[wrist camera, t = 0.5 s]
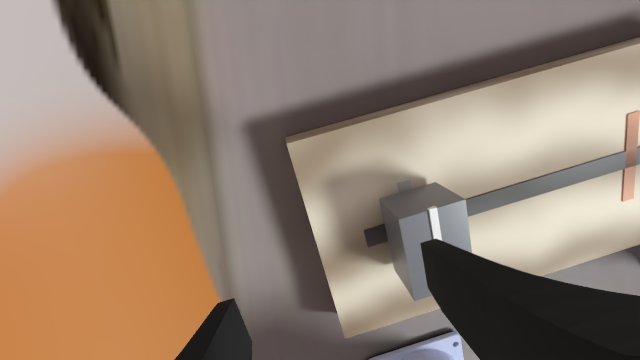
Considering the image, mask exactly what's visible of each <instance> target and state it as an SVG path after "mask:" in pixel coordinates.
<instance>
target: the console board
mask: <svg viewBox="0 0 640 360" xmlns="http://www.w3.org/2000/svg"><path fill="white" fill-rule="evenodd" d="M286 144H287V147H288V151H289V154H290V157H291V161H292V164H293V167H294V171H295V174H296V177H297V181H298V184H299V187H300V191H301V194H302V197H303V201H304V204H305V207H306V211H307V214H308V217H309V221H310V224H311V227H312V231H313V234H314V237H315V241H316V244H317V247H318V251H319V254H320V257H321V260H322V264H323V267H324V270H325V274H326V277H327V280H328V284H329V287H330V290H331V294H332V297H333V300H334V304H335V307H336V310H337V314H338V317H339V320H340V324H341V327H342V330H343V334H344V337H345V339H347V338H350V337H353V336H356V335H359V334H362V333H365V332H369V331H372V330H375V329H378V328H381V327H384V326H387V325H390V324H393V323H397V322H400V321H403V320H406V319H409V318H412V317H415V316H418V315H422V314H425V313H428V312H431V311H434V310H437V309H440V307H439V306H438V304H437V302H436V301H435V299H434V297H433V296H430V297H426V298H423V299H420V300H417V301H414V299H413V298H412V296H411V295H410V293H409V292H408V290H407V289H406V287H405V285H404V284H403V282H402V281H401V279H400V278H399V276H398V275H397V273H396V272H395V270H394V266H393V261H392V257H391V252H390V247H389V243H388V238H387V233H386V229H385V224H384V219H383V215H382V210H381V205H380V201H379V199H380V198H384V197H387V196H390V195H394V194H397V193H400V192H404V191H407V190H410V189H414V188H417V187H420V186H424V185H427V184H430V183H434V182H436V183H438V184H440V185H442V186H443V187H445V188H447V189H449V190H450V191H452V192H454V193H456V194H457V195H459V196H461V197H462V198H464V199H466V206H467V214H468V223H469V232H470V240H471V249H472V253H473V254H475V255H478V256H481V257H483V258H486V259H488V260H491V261H494V262H496V263H499V264H502V265H505V266H508V267H511V268H514V269H517V270H520V271H523V272H527V273H530V274H533V275H537V276H543V275H546V274H549V273H552V272H555V271H559V270H562V269H565V268H568V267H571V266H574V265H577V264H580V263H583V262H587V261H590V260H593V259H596V258H599V257H602V256H605V255H608V254H612V253H615V252H618V251H621V250H624V249H627V248H630V247H633V246H636V245H640V37H637V38H634V39H630V40H627V41H623V42H620V43H616V44H613V45H609V46H606V47H602V48H599V49H595V50H592V51H588V52H585V53H581V54H577V55H574V56H570V57H567V58H563V59H560V60H556V61H553V62H549V63H546V64H542V65H539V66H535V67H532V68H528V69H525V70H521V71H518V72H514V73H510V74H507V75H503V76H500V77H496V78H493V79H489V80H486V81H482V82H479V83H475V84H472V85H468V86H465V87H461V88H458V89H454V90H451V91H447V92H444V93H440V94H436V95H433V96H429V97H426V98H422V99H419V100H415V101H412V102H408V103H405V104H401V105H398V106H394V107H391V108H387V109H384V110H380V111H377V112H373V113H369V114H366V115H362V116H359V117H355V118H352V119H348V120H345V121H341V122H338V123H334V124H331V125H327V126H324V127H320V128H317V129H313V130H310V131H306V132H303V133H299V134H295V135H292V136H288V137H286Z"/></svg>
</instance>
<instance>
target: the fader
mask: <svg viewBox="0 0 640 360" xmlns="http://www.w3.org/2000/svg"><path fill="white" fill-rule="evenodd" d="M379 201H380V205H381V210H382V215H383V219H384V224H385V229H386V233H387V238H388V243H389V247H390V252H391V257H392V261H393V266H394V270H395V272H396V273H397V275H398V276H399V278H400V279H401V281H402V282H403V284H404V285H405V287H406V289H407V290H408V292H409V293H410V295H411V296H412V298H413V299H414V301H417V300H420V299H423V298H426V297H430V296H432V294H431V292H430V291H429V289H428V286H427V280H426V274H425V268H424V263H423V257H422V251H421V245H420V243H422V242H425V241H429V240H432V239H435V238H436V239H438V240H441V241H444V242H446V243H449V244H451V245H454V246H456V247H458V248H461V249H463V250H466V251H468V252H470V253H472V249H471V240H470V232H469V223H468V214H467V206H466V199H464V198H462V197H461V196H459V195H457V194H456V193H454V192H452V191H450V190H449V189H447V188H445V187H443V186H442V185H440V184H438V183H436V182H434V183H430V184H427V185H424V186H420V187H417V188H414V189H410V190H407V191H404V192H400V193H397V194H394V195H390V196H387V197H384V198H380V199H379Z"/></svg>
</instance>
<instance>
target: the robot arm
mask: <svg viewBox="0 0 640 360" xmlns="http://www.w3.org/2000/svg"><path fill="white" fill-rule="evenodd" d="M420 245H421V251H422V257H423V263H424V268H425V274H426V280H427V286H428V289H429V291H430V292H431V294H432V296H433V297H434V299H435V301H436V302H437V304H438V306H439V307H440V309H441V310H442V312H443V313H444V314H445V316H446V317H447V318H448V320H449V321H450V322H451V323H452V325H453V326H454V327H455V329H456V330H457V331H458V332H459V334H460V335H461V336H462V337H463V339H464V340H465V341H466V342H467V344H468V345H469V346H470V348H471V349H472V350H473V351H474V353H475V354H476V355H477V356H478V358H479V359H480V360H640V296H636V295H629V294H622V293H616V292H610V291H604V290H598V289H593V288H588V287H583V286H578V285H573V284H569V283H564V282H560V281H556V280H552V279H548V278H545V277H541V276H537V275H533V274H530V273H527V272H523V271H520V270H517V269H514V268H511V267H508V266H505V265H502V264H499V263H496V262H494V261H491V260H488V259H486V258H483V257H481V256H478V255H475V254H473V253H470V252H468V251H466V250H463V249H461V248H458V247H456V246H454V245H451V244H449V243H446V242H444V241H441V240H438V239H436V238H435V239H432V240H429V241H425V242H422V243H420ZM459 334H458V333H457V332H450V333H447V334H444V335H440V336H437V337H434V338H431V339H428V340H425V341H422V342H419V343H416V344H413V345H410V346H407V347H404V348H401V349H398V350H394V351H391V352H388V353H385V354H382V355H379V356H376V357H373V358H370V359H369V360H464V358H463V352H462V345H461V338H460V335H459ZM175 360H252V341H251V338H250V336H249V334H248V331H247V329H246V326H245V324H244V321H243V319H242V316H241V314H240V311H239V309H238V307H237V304H236V302H235V299H234V298H233V299H230V300H227V301H223V302H220V303H218V304H217V305H216V306H215V307H214V309H213V310H212V311H211V312H210V314H209V315H208V316H207V318H206V319H205V321H204V322H203V323H202V325H201V326H200V328H199V329H198V330H197V331H196V333H195V334H194V335H193V337H192V338H191V339H190V341H189V342H188V343H187V345H186V346H185V347H184V349H183V350H182V351H181V352H180V354H179V355H178V356H177V357H176V359H175Z"/></svg>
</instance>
